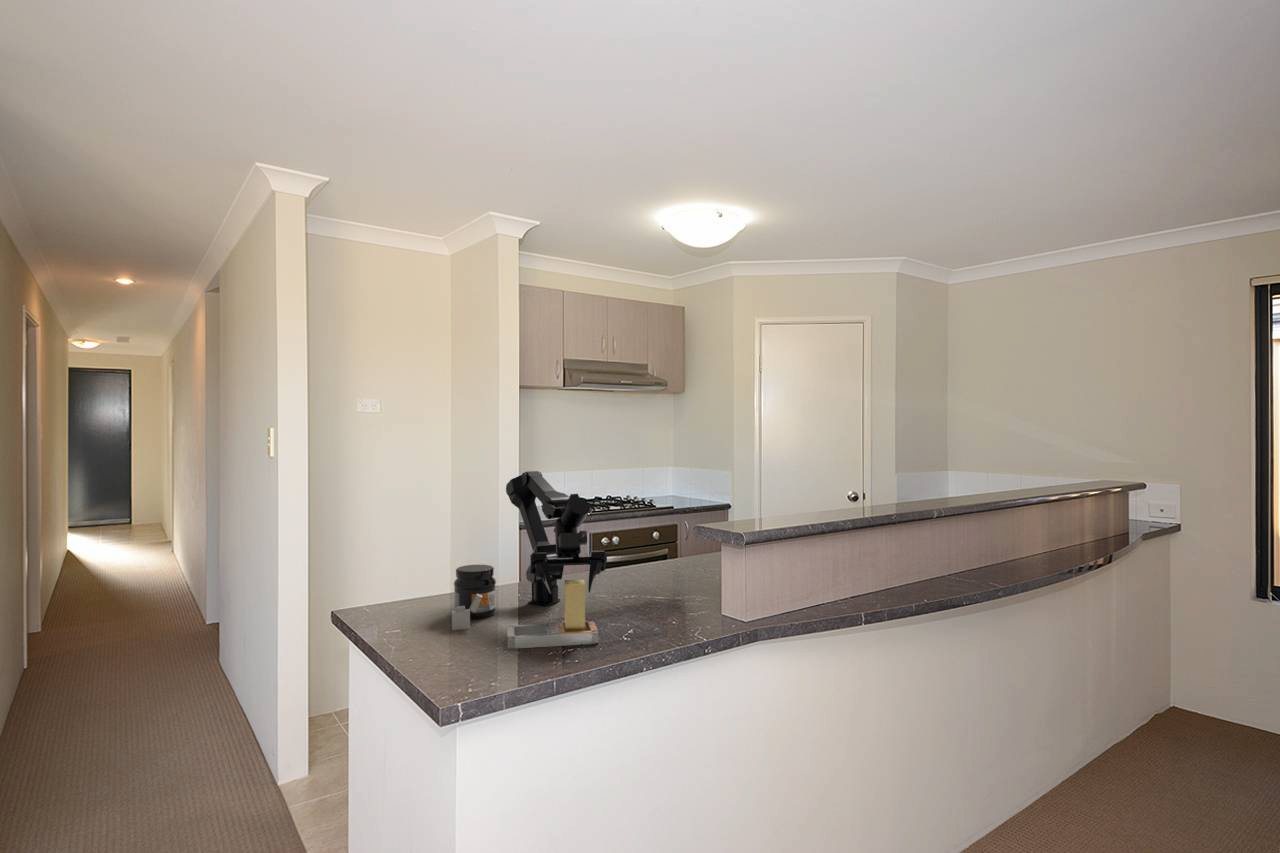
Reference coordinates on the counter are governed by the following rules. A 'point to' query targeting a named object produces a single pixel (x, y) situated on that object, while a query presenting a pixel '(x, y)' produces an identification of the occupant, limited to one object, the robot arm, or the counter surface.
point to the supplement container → (475, 589)
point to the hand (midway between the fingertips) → (570, 592)
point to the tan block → (574, 605)
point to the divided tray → (549, 635)
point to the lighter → (464, 614)
